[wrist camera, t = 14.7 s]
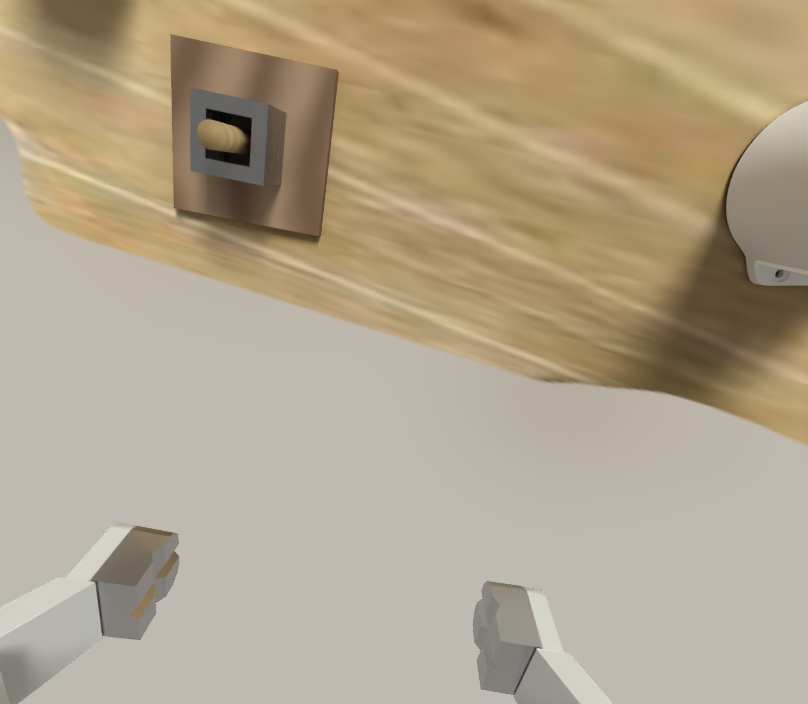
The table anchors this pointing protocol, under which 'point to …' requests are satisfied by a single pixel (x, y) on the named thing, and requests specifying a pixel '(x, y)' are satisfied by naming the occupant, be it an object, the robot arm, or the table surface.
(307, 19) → the table surface
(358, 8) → the table surface
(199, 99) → the collar
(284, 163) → the post board
